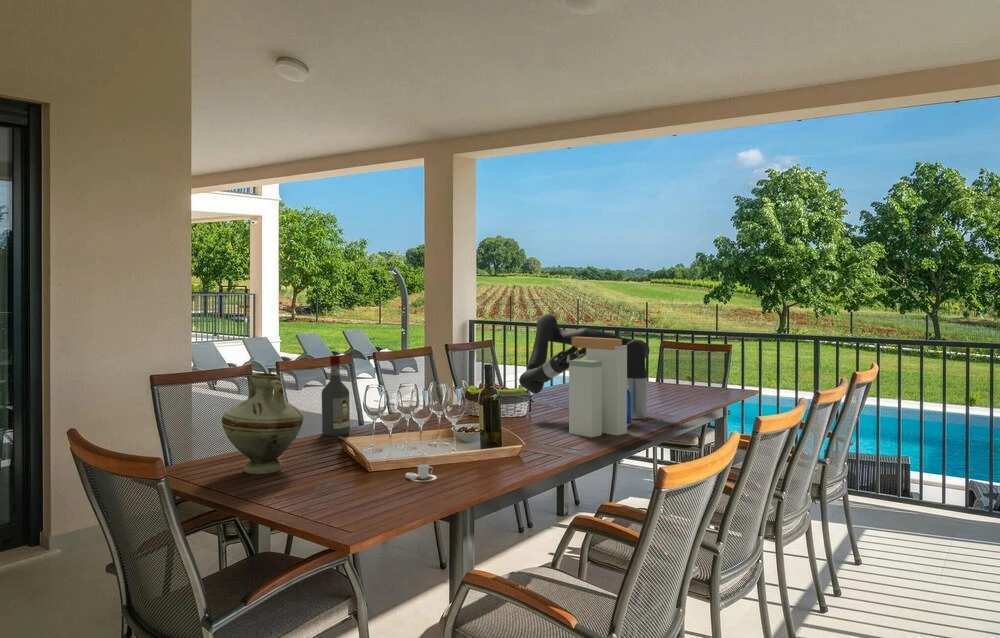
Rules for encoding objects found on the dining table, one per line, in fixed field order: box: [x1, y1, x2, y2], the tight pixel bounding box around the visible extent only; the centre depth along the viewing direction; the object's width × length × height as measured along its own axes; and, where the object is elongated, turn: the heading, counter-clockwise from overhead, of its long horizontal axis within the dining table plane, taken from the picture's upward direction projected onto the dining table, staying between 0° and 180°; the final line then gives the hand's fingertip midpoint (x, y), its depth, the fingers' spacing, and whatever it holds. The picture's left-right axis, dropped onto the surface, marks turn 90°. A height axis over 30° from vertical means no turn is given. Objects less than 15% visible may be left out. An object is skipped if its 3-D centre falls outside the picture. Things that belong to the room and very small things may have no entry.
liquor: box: [321, 355, 351, 437], centre depth 277 cm, size 9×9×30 cm
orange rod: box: [571, 337, 622, 350], centre depth 281 cm, size 22×4×4 cm, turn 44°
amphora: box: [221, 372, 304, 475], centre depth 221 cm, size 24×24×30 cm
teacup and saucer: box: [405, 463, 438, 483], centre depth 211 cm, size 9×8×4 cm
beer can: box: [627, 386, 632, 428], centre depth 291 cm, size 8×8×16 cm
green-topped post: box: [568, 358, 603, 438], centre depth 274 cm, size 11×6×28 cm, turn 44°
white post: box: [585, 345, 628, 436], centre depth 278 cm, size 15×6×34 cm, turn 44°
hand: (582, 347), depth 286 cm, fingers open, 8 cm apart
